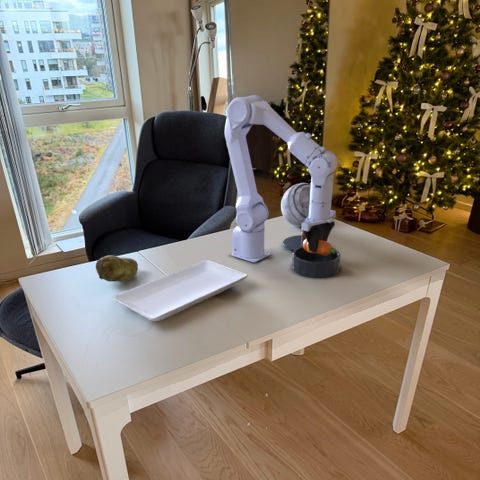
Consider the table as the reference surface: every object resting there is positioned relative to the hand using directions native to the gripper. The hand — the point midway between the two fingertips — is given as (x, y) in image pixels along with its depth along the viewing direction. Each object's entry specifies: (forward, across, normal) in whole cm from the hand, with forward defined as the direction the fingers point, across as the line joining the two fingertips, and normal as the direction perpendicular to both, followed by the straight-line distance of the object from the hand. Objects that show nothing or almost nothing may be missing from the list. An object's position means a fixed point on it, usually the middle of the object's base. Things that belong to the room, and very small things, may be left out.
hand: (316, 248), depth 125 cm
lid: (+5, +13, +12) cm, 18 cm away
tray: (+6, -36, +17) cm, 40 cm away
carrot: (+1, 0, 0) cm, 1 cm away
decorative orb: (+6, +29, +24) cm, 38 cm away
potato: (+6, -40, +38) cm, 56 cm away
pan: (+6, 0, 0) cm, 6 cm away
